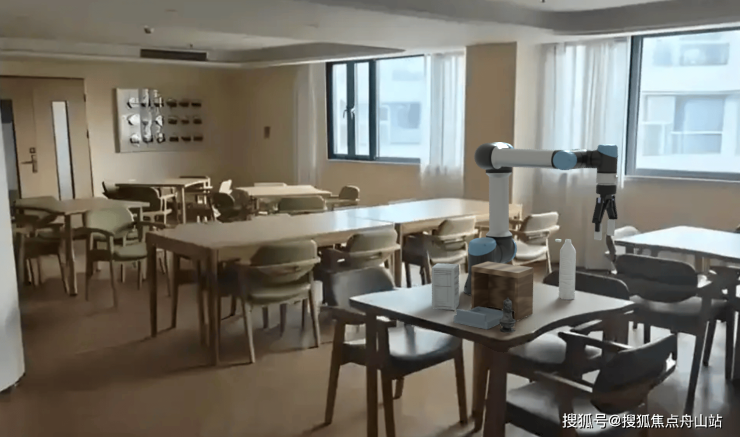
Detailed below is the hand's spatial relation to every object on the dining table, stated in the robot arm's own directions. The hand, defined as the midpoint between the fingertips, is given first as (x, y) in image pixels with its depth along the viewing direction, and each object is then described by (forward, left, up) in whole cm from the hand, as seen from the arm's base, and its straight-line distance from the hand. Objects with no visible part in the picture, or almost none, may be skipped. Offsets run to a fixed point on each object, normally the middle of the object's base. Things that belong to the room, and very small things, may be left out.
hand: (604, 237), depth 260 cm
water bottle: (-17, +1, -28) cm, 32 cm away
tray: (-26, -49, -27) cm, 61 cm away
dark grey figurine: (-13, -54, -28) cm, 62 cm away
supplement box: (-48, -41, -28) cm, 68 cm away
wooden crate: (-26, -35, -27) cm, 51 cm away
